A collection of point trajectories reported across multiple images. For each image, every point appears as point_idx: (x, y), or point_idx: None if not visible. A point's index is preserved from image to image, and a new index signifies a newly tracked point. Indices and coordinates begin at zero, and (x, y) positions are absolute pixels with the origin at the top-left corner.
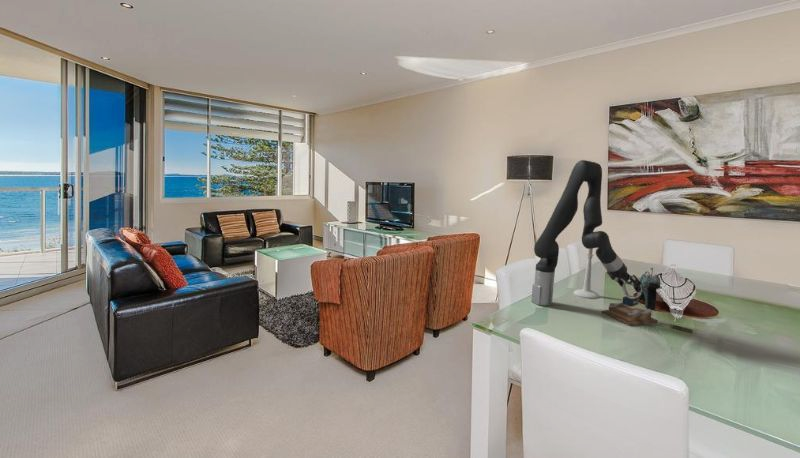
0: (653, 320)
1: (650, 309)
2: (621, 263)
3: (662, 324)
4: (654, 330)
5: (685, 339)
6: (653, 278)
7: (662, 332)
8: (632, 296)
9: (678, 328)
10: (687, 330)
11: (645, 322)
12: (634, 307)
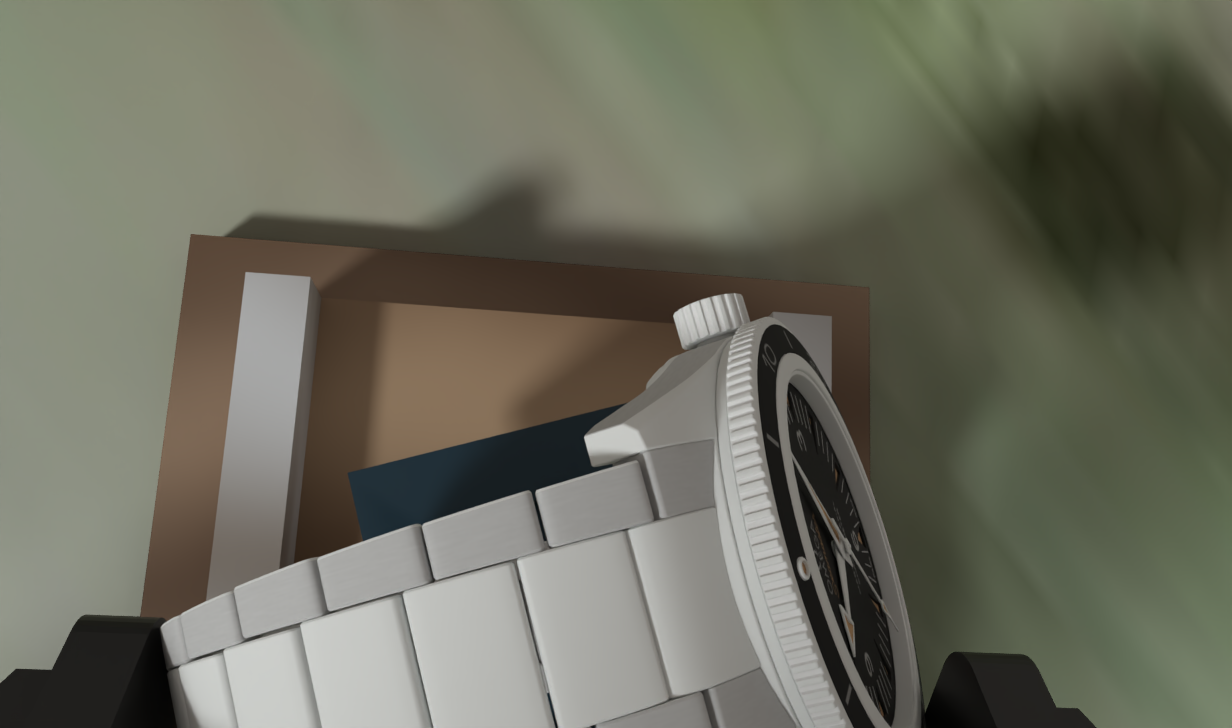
0: (858, 383)
1: (816, 316)
2: None
3: (927, 294)
4: (1106, 700)
5: None
6: None
7: (1197, 642)
8: (465, 457)
9: (1112, 209)
10: (1199, 156)
11: None
12: (455, 366)
